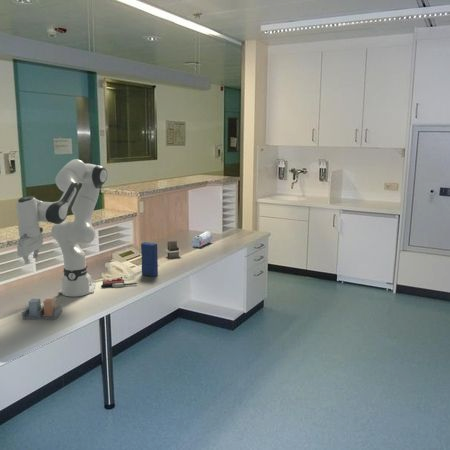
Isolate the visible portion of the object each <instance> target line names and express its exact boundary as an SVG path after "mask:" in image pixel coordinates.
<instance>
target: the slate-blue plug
mask: <svg viewBox="0 0 450 450" xmlns="http://www.w3.org/2000/svg"><path fill="white" fill-rule="evenodd" d="M41 304H42V303H41V298H31V299H30V300H29V301H28V307H29V315H37V312H38V311H39V310H40V309H41V308H42V305H41Z"/></svg>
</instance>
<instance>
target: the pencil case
mask: <svg viewBox="0 0 450 450" xmlns="http://www.w3.org/2000/svg"><path fill="white" fill-rule="evenodd" d="M212 241H213V235H212V233H211V232H210V231H207V230H206V231H204V232H203V233H201V234H199V235H195V236H194V237H192V239H191V244H192V246H193V247H194V248H196V247H198V248H201V247H204V246H206V245H207V244H209V243H210V242H212ZM198 248H197V249H198Z"/></svg>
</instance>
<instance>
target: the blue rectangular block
mask: <svg viewBox="0 0 450 450" xmlns="http://www.w3.org/2000/svg"><path fill="white" fill-rule="evenodd" d="M140 247H141V248H140V249H141V250H140V251H141V275H144V276H148V275H149V277H156V276H158V273H159V270H158V269H159V268H158V266H159V265H158V263H159V262H158V260H159V259H158V243H155V242H147V241H144V242H141V243H140Z"/></svg>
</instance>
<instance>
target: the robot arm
mask: <svg viewBox="0 0 450 450" xmlns="http://www.w3.org/2000/svg"><path fill="white" fill-rule="evenodd" d="M107 179H108V171H107V169H106V168H105V167H104V166H102V165H99V164H98V165H97V164H95V163H94V164H93V163H85V162H84V161H83V160H80V159H78V158H75V159H72V160H70V161H69V162H67V163H66V164H65V165H64V166H63V167H62V168H60V170H59V171H58V173H57V174H56V175H55V184H56V187H58V190H60V191H61V192H63V193H62V194H61V196H60V199H58V200H57V201H52V202H51V201H43V200H39V199H37V198H36V197H35V196H33V195H27V196H22V197H20V198H18V200H17V203H16V217H17V219H18V220H17V221H18V225H17V229H18V237H19V238H18V240H17V243H16V246H17V248H16V249H17V252H16V253H17V256H18V257H20V258H21V257H22V259H23V261H24V264H25V265H29V264H30V263H31V260H30V257H29V255H30V254H31V253H33V254H32V258H33V259H38V258H39V250H40V248H41V247H42V246H43V244H44V241H43V239H44V234H43V232H44V228H43V227H42V226H40V223H39V222H42V223H49V224H53V225H52V227H51V230H50V231H51V232H50V233H51V236H52V238H53V239H54V240H55V241H56V242H57V243H58V246H59V248H60V249H61V250H60V251H61V253H62V257H63V266H64V267H63V271H62V272H63V276H62V277H61V285H60V286H61V288H60V290H58V293H59V294H62V295H63V296H66V297H82V296H85V295H89V294H93V293H95V289H96V285H97V284H96V282H92V275H90V274H89V273H88V264H86V263H87V262H86V253H85V252H84V250H83V249H82V248H81V247H80V246H79V245H87V244H91V243H92V242H94V240H95V237H96V230H95V228H94V226H93V225H92V216H93V213H94V210H95V207H96V204H97V203H98V198H99V196H100V192H101V191H100V188H102V186H103V185H104V184H105V183H106V181H107ZM80 184H81V187H79V185H80ZM70 208H71V213H72V214H73V216H74V221H73V222H72V221H65V220H66V218H67V217H68V213H69V210H70Z"/></svg>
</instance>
